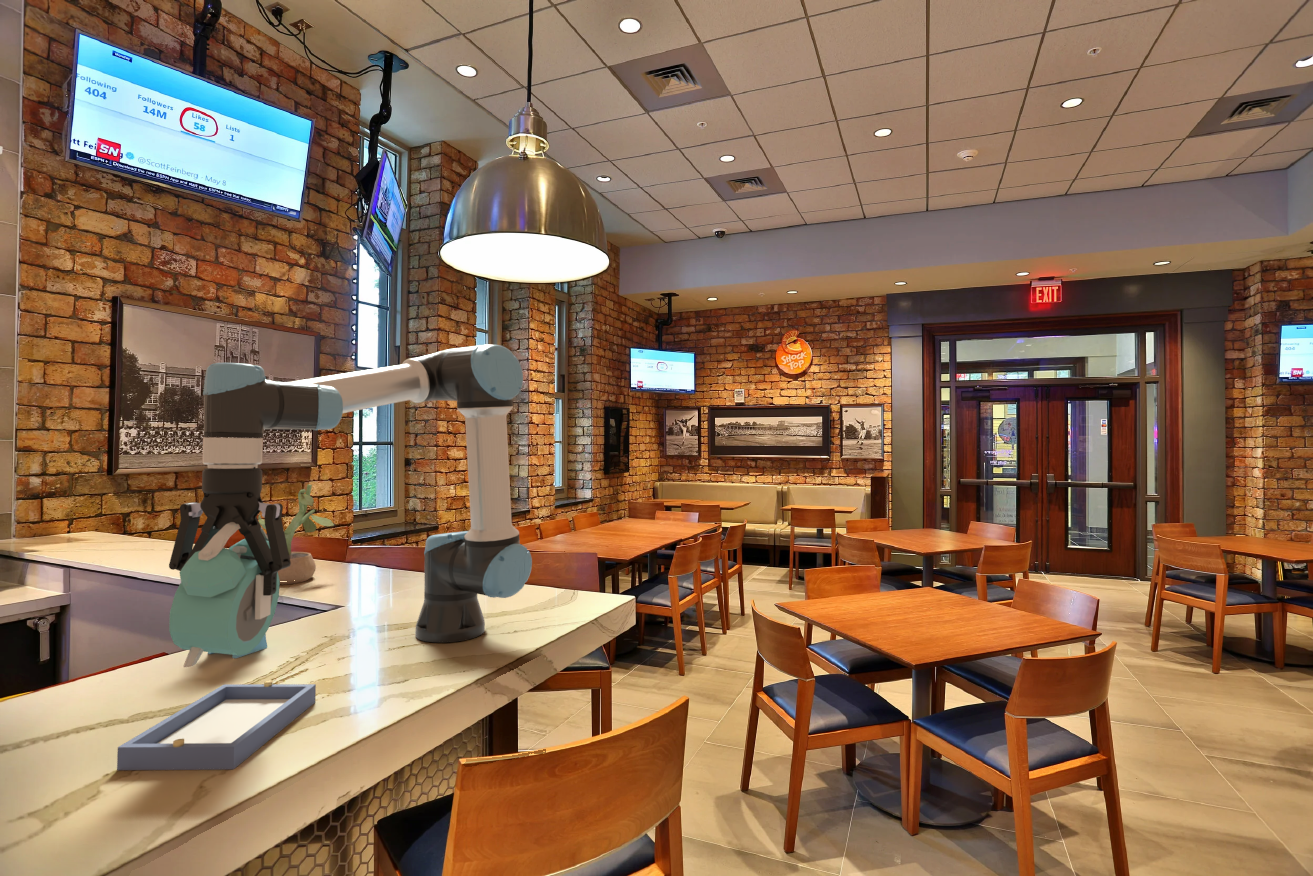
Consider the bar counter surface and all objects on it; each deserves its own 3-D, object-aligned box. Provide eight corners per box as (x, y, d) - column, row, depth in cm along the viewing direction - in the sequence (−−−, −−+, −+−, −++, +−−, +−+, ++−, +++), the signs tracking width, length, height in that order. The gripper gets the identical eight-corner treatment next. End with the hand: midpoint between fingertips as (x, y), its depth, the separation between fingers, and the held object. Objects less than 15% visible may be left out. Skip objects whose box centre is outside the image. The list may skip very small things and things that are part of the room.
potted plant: (237, 586, 190) (239, 485, 190) (274, 574, 208) (276, 482, 208) (311, 588, 189) (313, 486, 190) (343, 575, 207) (344, 483, 208)
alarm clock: (227, 636, 104) (230, 513, 104) (288, 635, 104) (291, 513, 105) (152, 675, 86) (156, 527, 87) (226, 674, 87) (229, 527, 87)
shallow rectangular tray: (315, 702, 107) (316, 680, 107) (233, 769, 85) (233, 742, 85) (223, 702, 106) (224, 680, 106) (116, 770, 84) (117, 743, 84)
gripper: (318, 466, 100) (315, 610, 100) (176, 464, 99) (173, 610, 99) (293, 468, 92) (290, 624, 92) (139, 466, 92) (135, 623, 91)
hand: (229, 616), depth 95 cm, fingers closed on alarm clock, 9 cm apart
